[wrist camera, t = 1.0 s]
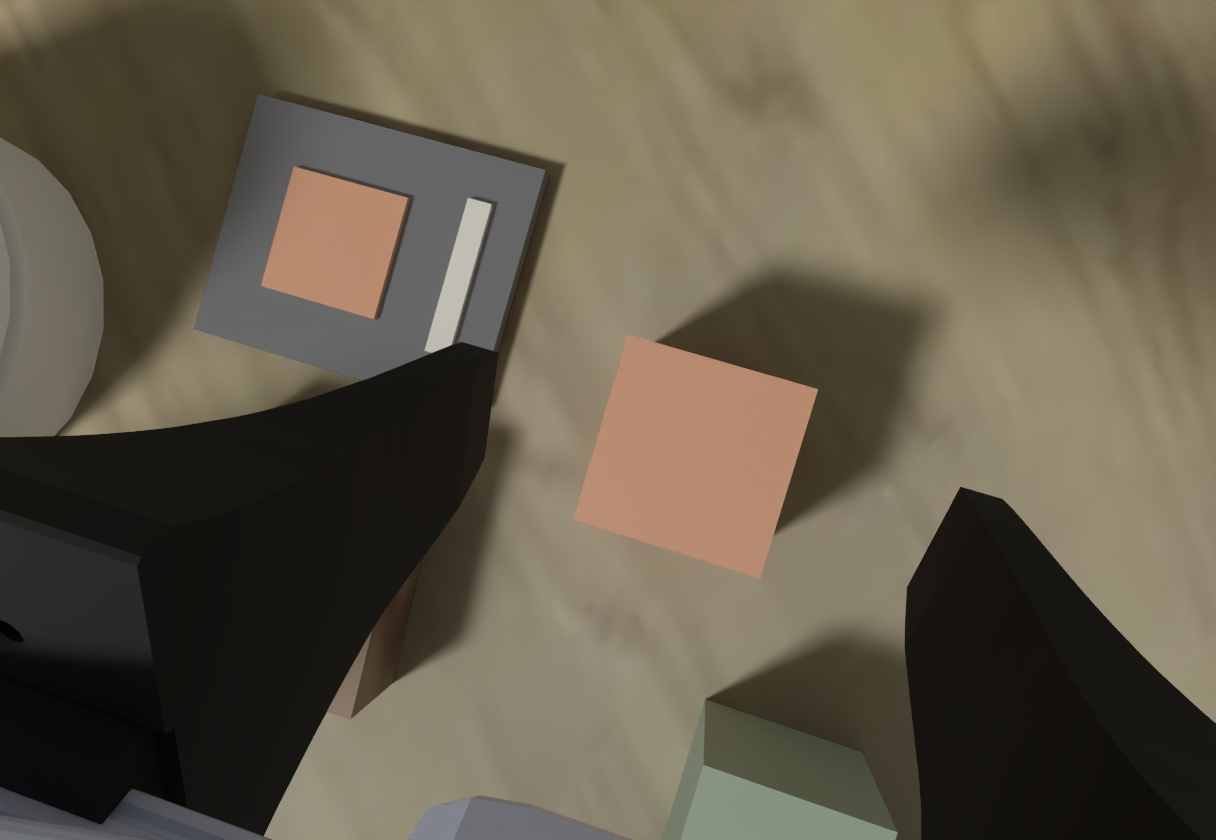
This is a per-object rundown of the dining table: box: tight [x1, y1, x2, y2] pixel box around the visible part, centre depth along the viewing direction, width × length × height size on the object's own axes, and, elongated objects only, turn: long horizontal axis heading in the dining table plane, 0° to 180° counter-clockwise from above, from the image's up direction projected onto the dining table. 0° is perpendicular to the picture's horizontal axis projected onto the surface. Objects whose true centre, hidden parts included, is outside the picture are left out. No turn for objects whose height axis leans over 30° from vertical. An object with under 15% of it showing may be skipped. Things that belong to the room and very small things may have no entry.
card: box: [194, 94, 549, 381], centre depth 27 cm, size 8×10×1 cm
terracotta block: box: [573, 335, 818, 579], centre depth 24 cm, size 5×5×5 cm
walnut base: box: [327, 558, 423, 719], centre depth 26 cm, size 7×7×4 cm
